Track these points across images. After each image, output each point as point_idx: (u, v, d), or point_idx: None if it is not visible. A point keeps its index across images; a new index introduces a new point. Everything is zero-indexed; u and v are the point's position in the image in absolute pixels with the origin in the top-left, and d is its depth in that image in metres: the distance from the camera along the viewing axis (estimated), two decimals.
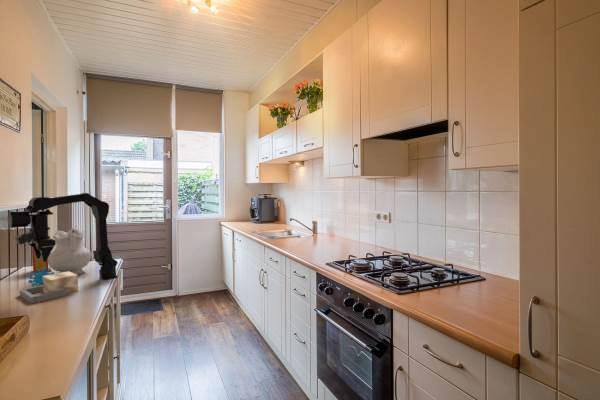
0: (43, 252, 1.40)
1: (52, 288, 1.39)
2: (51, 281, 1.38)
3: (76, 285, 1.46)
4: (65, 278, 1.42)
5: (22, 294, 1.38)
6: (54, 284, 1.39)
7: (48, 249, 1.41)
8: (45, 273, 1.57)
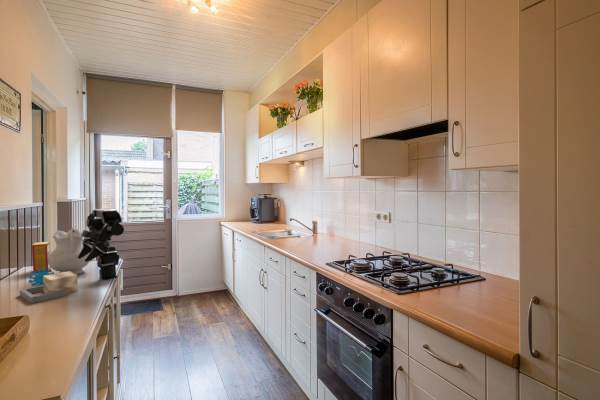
0: (92, 253, 1.51)
1: (51, 288, 1.39)
2: (50, 281, 1.38)
3: (76, 285, 1.45)
4: (65, 278, 1.42)
5: (22, 294, 1.38)
6: (53, 284, 1.39)
7: (97, 253, 1.52)
8: (45, 273, 1.57)
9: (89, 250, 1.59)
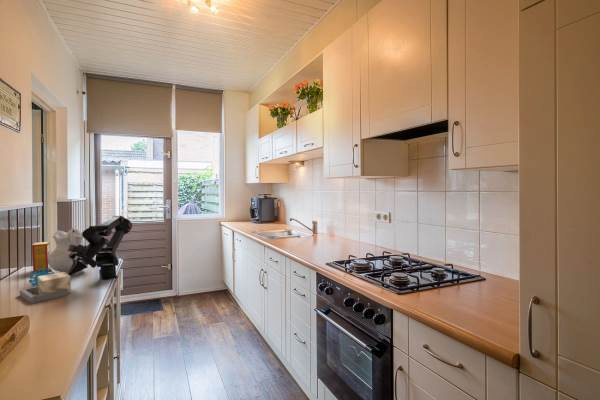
0: (75, 267, 1.49)
1: (43, 289, 1.37)
2: (42, 282, 1.37)
3: (69, 286, 1.43)
4: (57, 279, 1.40)
5: (22, 294, 1.38)
6: (46, 285, 1.37)
7: (81, 267, 1.50)
8: (46, 273, 1.57)
9: None
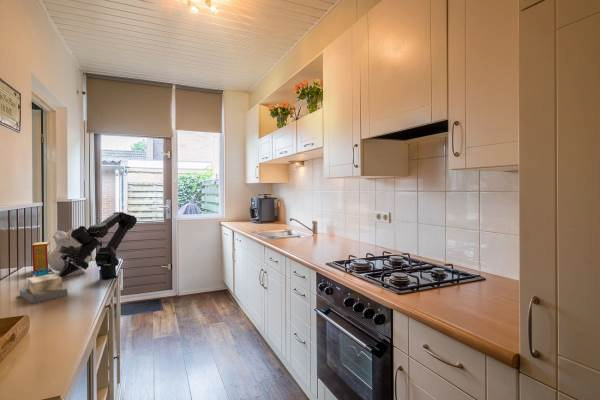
0: (67, 268, 1.46)
1: (34, 291, 1.34)
2: (33, 284, 1.34)
3: (60, 288, 1.41)
4: (48, 281, 1.38)
5: (22, 294, 1.38)
6: (36, 287, 1.35)
7: (72, 269, 1.48)
8: (46, 273, 1.57)
9: None
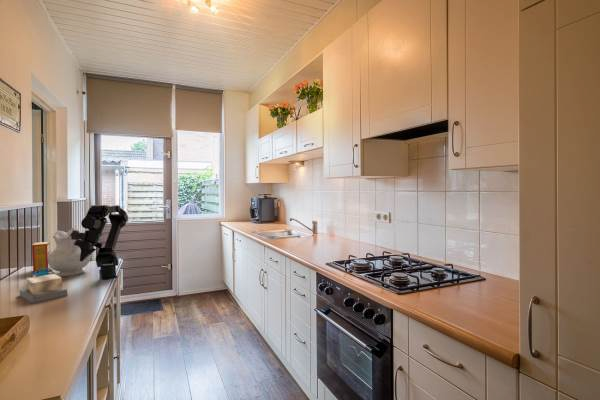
0: (82, 252, 1.52)
1: (34, 291, 1.34)
2: (33, 284, 1.34)
3: (60, 288, 1.41)
4: (48, 281, 1.38)
5: (22, 294, 1.38)
6: (36, 287, 1.35)
7: (87, 251, 1.53)
8: (46, 273, 1.57)
9: None
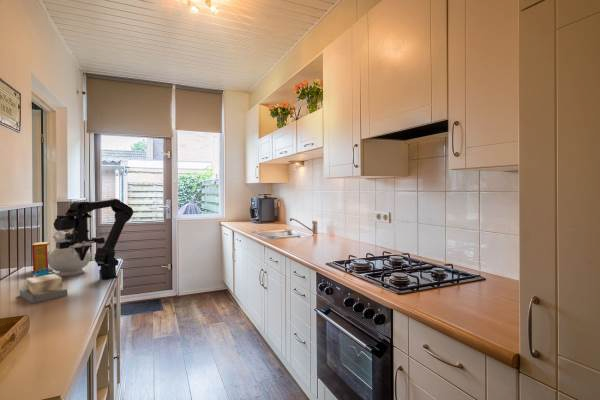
0: (77, 251, 1.53)
1: (34, 291, 1.34)
2: (33, 284, 1.34)
3: (60, 288, 1.41)
4: (48, 281, 1.38)
5: (22, 294, 1.38)
6: (37, 287, 1.35)
7: None
8: (46, 273, 1.58)
9: (83, 249, 1.53)
